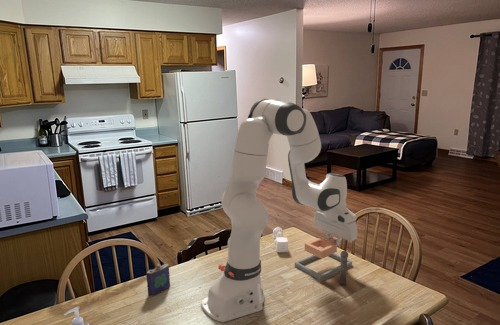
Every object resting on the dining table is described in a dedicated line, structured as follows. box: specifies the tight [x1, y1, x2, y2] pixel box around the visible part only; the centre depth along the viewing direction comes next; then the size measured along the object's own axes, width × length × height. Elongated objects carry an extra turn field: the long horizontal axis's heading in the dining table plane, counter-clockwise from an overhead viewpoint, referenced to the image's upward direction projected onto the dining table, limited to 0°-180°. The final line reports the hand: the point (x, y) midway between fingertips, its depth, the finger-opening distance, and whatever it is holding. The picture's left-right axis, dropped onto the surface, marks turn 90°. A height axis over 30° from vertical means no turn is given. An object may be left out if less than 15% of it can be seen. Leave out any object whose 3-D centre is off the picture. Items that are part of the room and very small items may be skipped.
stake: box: [319, 250, 367, 298], centre depth 134 cm, size 12×12×15 cm
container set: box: [272, 226, 289, 253], centre depth 173 cm, size 20×5×6 cm, turn 3°
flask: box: [145, 263, 171, 297], centre depth 134 cm, size 9×3×11 cm, turn 138°
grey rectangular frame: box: [294, 252, 353, 281], centre depth 150 cm, size 19×14×3 cm
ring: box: [304, 236, 338, 259], centre depth 148 cm, size 14×9×3 cm, turn 127°
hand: (333, 243), depth 151 cm, fingers closed on ring, 2 cm apart
